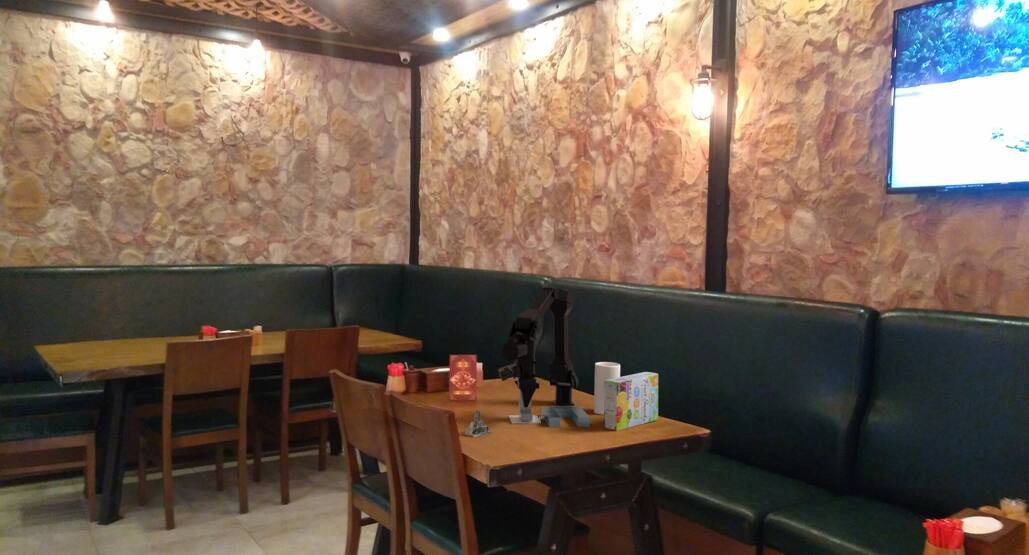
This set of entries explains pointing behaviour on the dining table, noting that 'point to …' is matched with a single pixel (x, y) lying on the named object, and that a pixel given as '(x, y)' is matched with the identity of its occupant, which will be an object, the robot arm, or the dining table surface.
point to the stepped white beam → (524, 410)
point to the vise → (564, 415)
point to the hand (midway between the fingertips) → (525, 405)
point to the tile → (516, 420)
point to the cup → (603, 373)
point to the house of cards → (477, 427)
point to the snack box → (630, 400)
